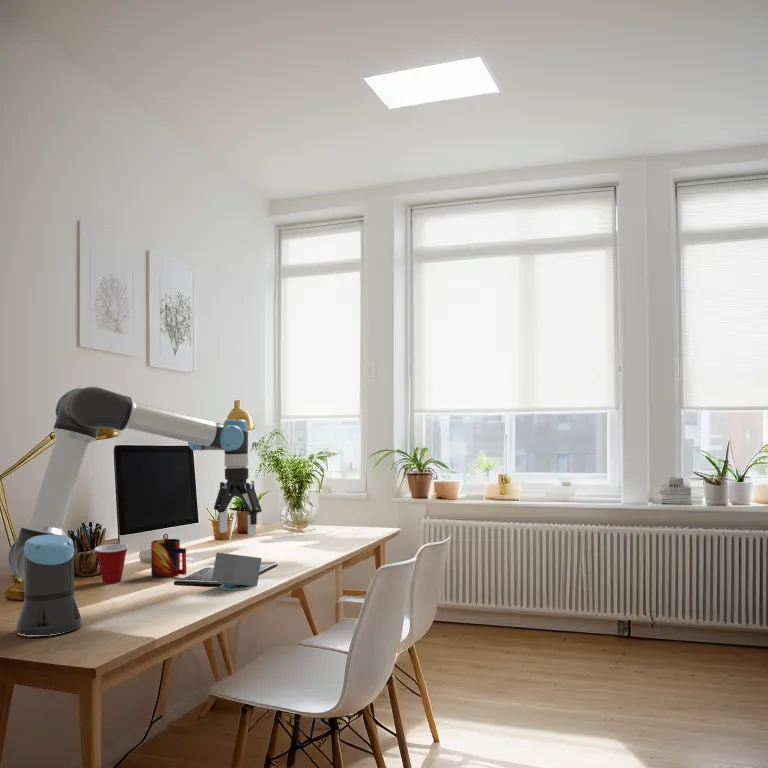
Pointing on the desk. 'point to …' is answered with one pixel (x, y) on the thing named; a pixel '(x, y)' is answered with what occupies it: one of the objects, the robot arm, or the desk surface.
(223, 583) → the ball
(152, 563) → the mug
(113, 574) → the plastic cup
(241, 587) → the disc
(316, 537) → the desk surface
